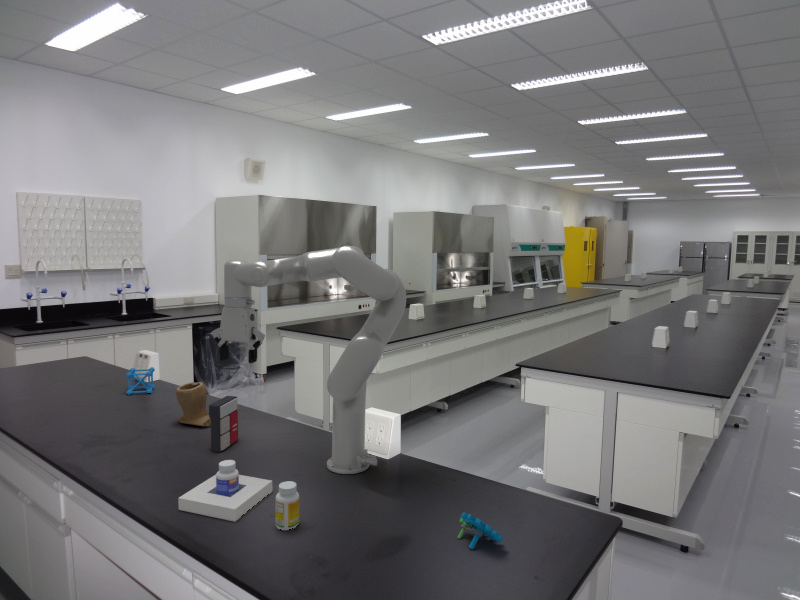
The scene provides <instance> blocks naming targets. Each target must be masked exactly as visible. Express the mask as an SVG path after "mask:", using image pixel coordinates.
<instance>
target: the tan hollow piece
mask: <svg viewBox="0 0 800 600" xmlns="http://www.w3.org/2000/svg"><path fill="white" fill-rule="evenodd" d="M207 393H208V392H207V388H206V385H205V384H204V383H203V382H202V381H198V382H194V381H193V382H187V383H183V384H181V385H179V386H178V387H176V389H175V396H176V399H177V402H178V404H179V407H180V408H181V410H182V416H179V418H178V419H177V421H178V423H181V424H185V425H191V426H199V427H211V419H210V417H209V412H207V409H206V408H207V401H208V399H207V398H208V396H207V395H208V394H207Z"/></svg>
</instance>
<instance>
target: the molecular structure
mask: <svg viewBox="0 0 800 600" xmlns="http://www.w3.org/2000/svg"><path fill="white" fill-rule="evenodd" d="M155 370H156V369H155V367H152V366H151V367H149V368H148V369H147V368H146V369H144V368H143V369H136V368H134V367H132V368H130V369H129V371H128V372H126V374H125V376H126V377H127V378H128V379H127V380H128V390H127V391H126V395H127V394H128V396H131V395H133V394H138V393H139V394H142V393H144V394H145V393H146V394H147V393H151V394H153V390H155V388H156V385H155V384H154V372H155ZM136 372H141V373H136ZM143 372H144V373H143ZM145 372H146V373H145ZM139 376H143V377H142V378H141V377H139ZM146 378H147V382H146V381H145V379H146ZM135 380H136V381H137V383H136V384H135ZM139 385H142V386H139ZM136 389H146V390H136ZM135 390H136V391H135ZM130 394H131V395H130Z"/></svg>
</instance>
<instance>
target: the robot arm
mask: <svg viewBox="0 0 800 600" xmlns="http://www.w3.org/2000/svg"><path fill="white" fill-rule="evenodd" d="M338 278H339V279H340V278H341V279H344V281H346V282H348V283H349V284H351V285H352V286H353V287H355V288H356V289H358V290H359V291H361V293H363V294H365V295H367V296H368V297H369V298H371V299H373V300H374V301H376V302H375V305H374V307H373V308H372V309H371V312H370V313H369V315H368V317H367V319H366V321H365V322H364V324H363V325H362V327H361V329H359V331H358V332H357V333H356V334H355V335H354V336H353V337H352V338H351V339H350V341H349V343H348V344H347V346H346V347H345V349H344V351H343V352H342V354H341V355H340V357H339V359H338V360H337V362H336V364H335V365H334V366H333V368H332V370H331V371H330V373H329V375H328V378H327V380H326V388H327V389H326V390H327V391H328V393H329V395H330V397H332V417H331V418H332V423H331V426H332V427H331V428H332V431H331V433H332V437H331V438H332V439H331V440H332V441H331V443H332V445H331V446H332V447H331V457H329V458H328V460H327V461H326V468H327V469H328V470H329V471H330V472H334V473H335V474H342V475H354V474H358V473H359V474H360V473H362V472H364V471H366V470H367V469H368V468H370V466H375V467H377V465H378V459H377V456H376V455H371V454H369V453H368V452H369V450H368V449H365V437H366V400H367V399H366V397H367V396H366V395H367V381H368V379H369V378H370V377H371V374H372V373H373V371H374V369H376V366H377V365H378V364H379V362H380V360H381V357H382V356H383V354H384V351H385V348H386V347H387V345H388V343H389V341H390V339H391V338H392V336H393V334H394V333H395V331H396V329H397V327H398V325H399V323H400V322H401V320H402V318H403V316H404V314H405V310H406V307H407V292H406V291H407V290H406V288H405V286H404V285H405V284H404V282H403V281H402V280H401V277H400V276H399V275H398V274H397V273H396V272H395V271H393V270H392V269H389V268H383V267H382V266H380V265H379V264H378V263H376V262H374V261H373V260H372V259H370V258H369V257H367V256H366V255H365V253H364V251H363V250H362V249H361V248H359V246H356V245H355V246H354V245H343V246H340V247H335V248H327V249H326V248H325V249H321V250H313V251H308V252H305V253H304V252H303V254H300V255H297V256H291V257H284V258H278V259H268V260H265V259H264V260H255V261H247V260H227V261H226V262H225V263H224V265H223V279H224V280H223V282H224V283H223V285H224V287H223V288H224V291H223V292H224V293H223V294H224V298H223V299H224V301H223V302H224V306H223V307H222V310H221V314H220V315H221V316H220V325H219V326H220V327H218V328H216V329H214V330H212V331H211V332H212V336H213V338H214V341H215V342H216V343H217V346H218V347H219V357H220V358H219V359H220V361H225V360H228V359H229V358H230V356H229V355H230V353H229V352H230V351H229V345H228V344H229V342H230V343H231V342H232V343H240V344H241V343H243V344H247V346H248V347H249V348H250V349H248V364H254V363H256V362H257V361H258V349H260V346H261V345H263V342H264V340H265V337H266V334H264V333H263V332H262V331H260V330H258V323H257V315H256V311H255V307H252V306H253V305H255V303H256V302H255V300H254V299H253V298H252V287H256V288H265V287H270V286H275V285H281V284H287V283H295V282H304V281H305V282H311V283H312V282H318V281H324V280H325V281H326V280H331V279H332V280H333V279H338Z"/></svg>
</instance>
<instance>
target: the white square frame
mask: <svg viewBox="0 0 800 600" xmlns="http://www.w3.org/2000/svg"><path fill="white" fill-rule="evenodd" d="M272 492H273V480H270V479H265V478H259V477H255V476H248V475H242V474H239V491H238V492H237V493H236V494H234V495H233V496H231V497H227V496H222V495H217V494H216V474H214V475H213V476H211V477H209V478H208V479H206V480H205V481H202V483H200V484H198V485H197V486H195V487H193V488H192V489H190V490H188V491H187V492H185V493H184V494H183V495H181V496H179V497H178V499H177V500H178V503H177V504H178V510H179V511H184V512H187V513H188V512H189V513H192V514H198V515H201V516H207V517H212V518H217V519H221V520H225V521H230V522H234V523H235V522H237V521H238V520H239V519H240V518H242V517H243V516H244V515H245V514H247V513H248V512H249V511H250V510H252V509H253V508H254V507H255V506H256V505H258V504H259V503H260V502H262V501H263V500H264V499H265V498H267V495H268V494H269V495H270V494H271V493H272ZM269 495H268V496H269ZM264 497H265V498H264ZM263 498H264V499H263ZM262 499H263V500H262ZM259 501H260V502H259ZM258 502H259V503H258ZM257 503H258V504H257ZM254 505H255V506H254ZM253 506H254V507H253ZM252 507H253V508H252ZM249 509H250V510H249ZM248 510H249V511H248ZM247 511H248V512H247ZM243 514H244V515H243ZM242 515H243V516H242ZM241 516H242V517H241Z"/></svg>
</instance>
